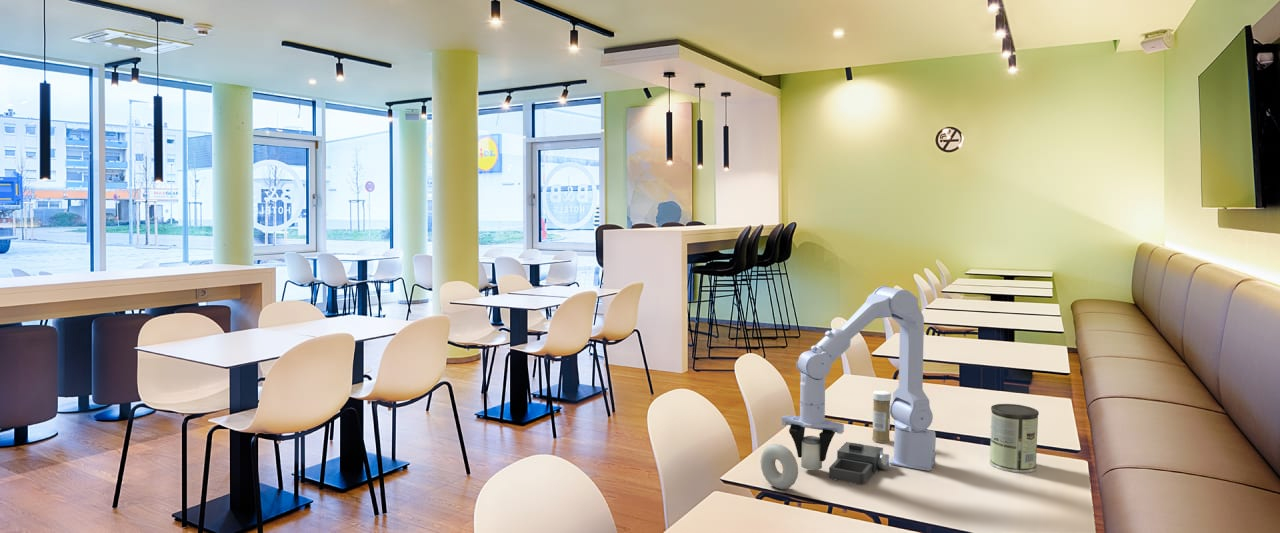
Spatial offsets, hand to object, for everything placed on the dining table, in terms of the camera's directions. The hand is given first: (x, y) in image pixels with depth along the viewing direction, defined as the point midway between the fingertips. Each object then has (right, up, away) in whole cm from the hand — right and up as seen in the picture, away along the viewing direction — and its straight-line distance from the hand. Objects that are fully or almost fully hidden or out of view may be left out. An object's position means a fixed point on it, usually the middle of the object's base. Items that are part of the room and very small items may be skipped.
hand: (811, 458), depth 176 cm
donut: (-10, -4, -10) cm, 15 cm away
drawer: (+13, -3, +4) cm, 14 cm away
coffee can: (+50, -3, +4) cm, 50 cm away
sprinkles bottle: (+24, -2, +23) cm, 33 cm away
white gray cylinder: (0, -2, 0) cm, 2 cm away
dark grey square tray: (+8, -3, -3) cm, 10 cm away
